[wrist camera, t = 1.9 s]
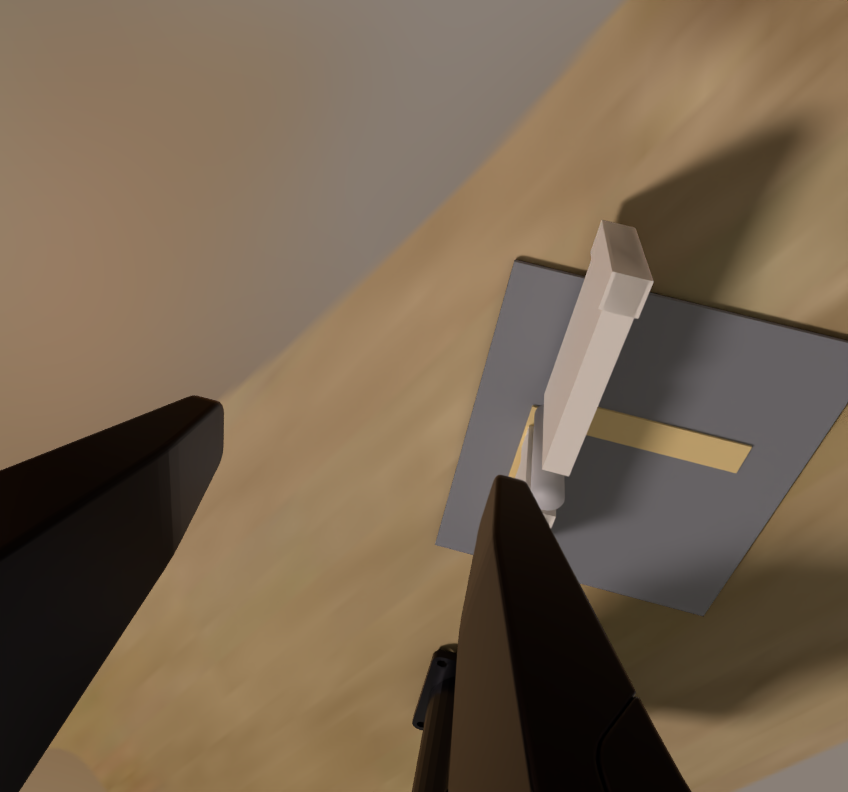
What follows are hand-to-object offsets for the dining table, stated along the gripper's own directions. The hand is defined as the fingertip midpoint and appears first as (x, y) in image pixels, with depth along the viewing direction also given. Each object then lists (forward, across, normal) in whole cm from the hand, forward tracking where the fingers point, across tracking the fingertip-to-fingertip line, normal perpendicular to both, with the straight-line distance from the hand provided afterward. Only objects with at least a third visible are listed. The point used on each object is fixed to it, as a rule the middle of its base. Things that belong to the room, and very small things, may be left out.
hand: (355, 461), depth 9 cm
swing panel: (+12, -4, +3) cm, 14 cm away
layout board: (+13, -8, +8) cm, 17 cm away
